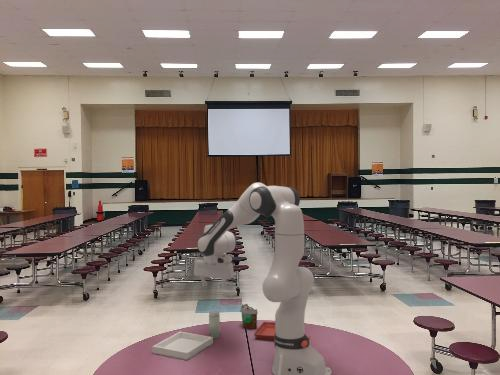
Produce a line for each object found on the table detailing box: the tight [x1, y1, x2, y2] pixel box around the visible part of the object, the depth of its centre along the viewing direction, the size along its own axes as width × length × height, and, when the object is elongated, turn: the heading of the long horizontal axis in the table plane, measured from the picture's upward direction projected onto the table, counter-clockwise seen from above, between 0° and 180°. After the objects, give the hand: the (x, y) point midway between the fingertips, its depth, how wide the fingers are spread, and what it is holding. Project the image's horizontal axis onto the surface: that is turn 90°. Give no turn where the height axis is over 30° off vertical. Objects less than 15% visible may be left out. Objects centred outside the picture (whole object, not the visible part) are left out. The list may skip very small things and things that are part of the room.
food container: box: [239, 303, 258, 330], centre depth 216 cm, size 12×6×10 cm, turn 25°
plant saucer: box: [253, 321, 275, 341], centre depth 204 cm, size 18×18×3 cm
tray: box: [151, 331, 214, 361], centre depth 189 cm, size 18×20×3 cm
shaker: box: [208, 310, 221, 340], centre depth 203 cm, size 5×5×12 cm
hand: (213, 286), depth 203 cm, fingers open, 8 cm apart
